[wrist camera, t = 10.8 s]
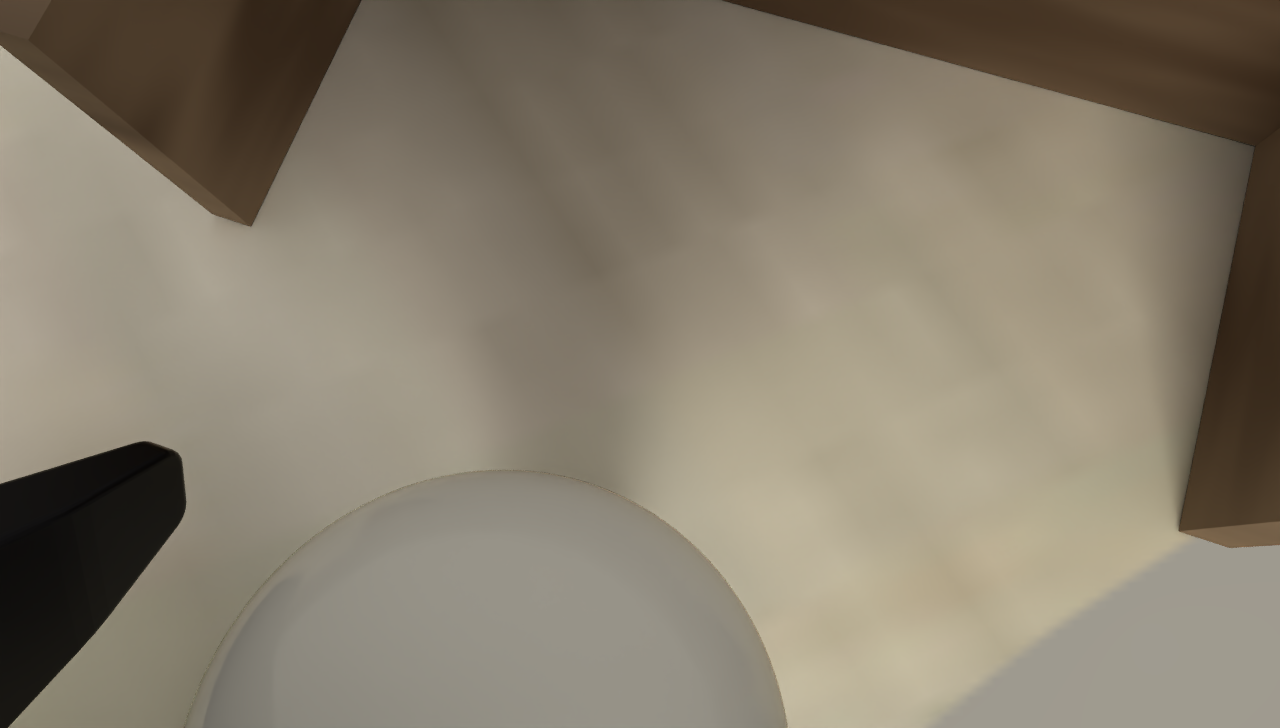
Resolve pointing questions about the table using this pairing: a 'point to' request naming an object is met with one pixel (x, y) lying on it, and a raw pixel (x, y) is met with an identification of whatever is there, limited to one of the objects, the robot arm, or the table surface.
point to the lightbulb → (493, 620)
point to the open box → (848, 3)
